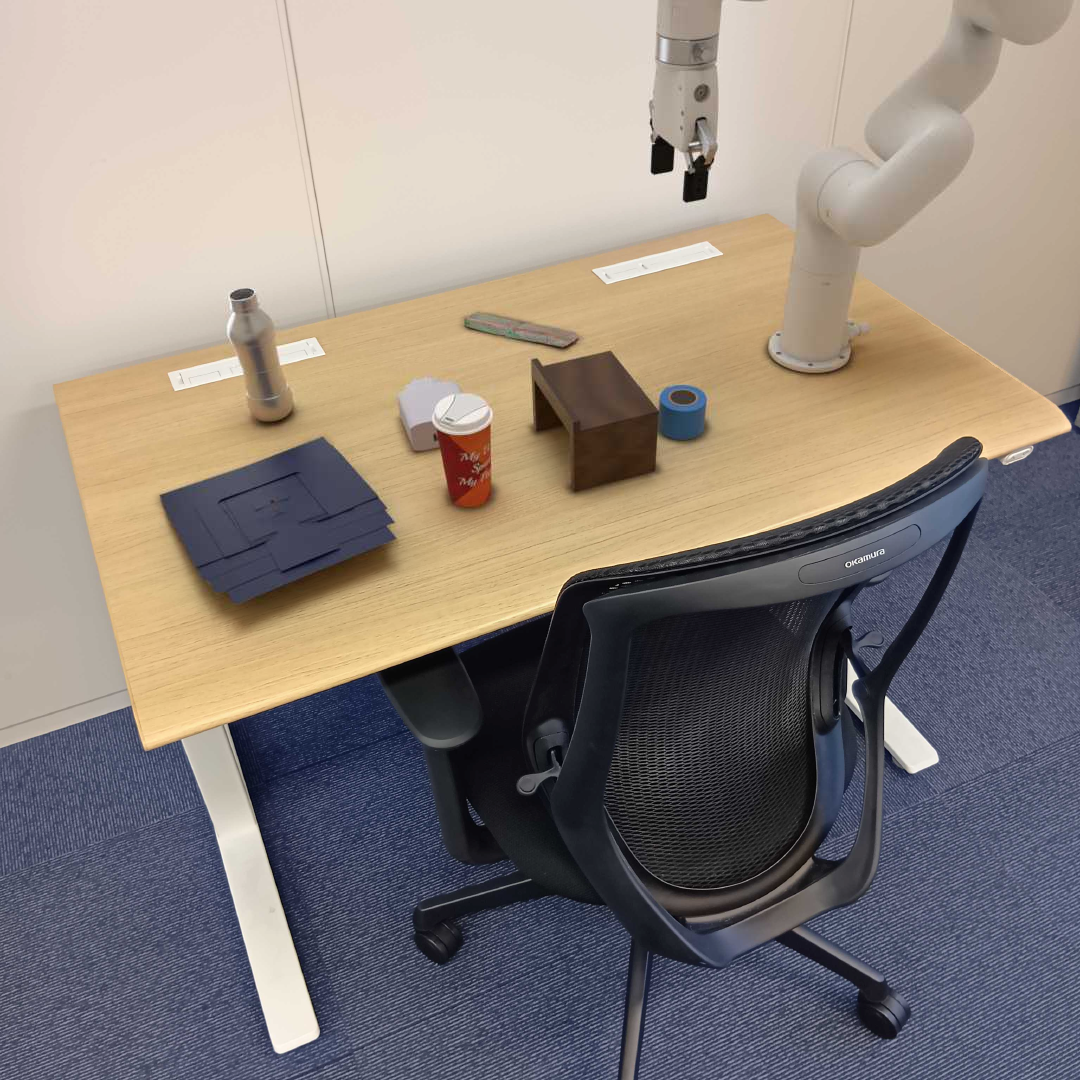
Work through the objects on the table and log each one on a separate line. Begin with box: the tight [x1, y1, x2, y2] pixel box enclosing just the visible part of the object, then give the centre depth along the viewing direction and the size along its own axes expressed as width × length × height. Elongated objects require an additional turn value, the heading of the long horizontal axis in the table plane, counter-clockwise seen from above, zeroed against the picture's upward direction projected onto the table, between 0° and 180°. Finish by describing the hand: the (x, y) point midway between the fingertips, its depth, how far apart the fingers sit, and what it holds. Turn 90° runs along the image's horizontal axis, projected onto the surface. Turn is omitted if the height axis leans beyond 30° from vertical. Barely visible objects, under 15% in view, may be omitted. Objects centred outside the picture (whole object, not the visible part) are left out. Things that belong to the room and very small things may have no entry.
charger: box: [397, 374, 464, 452], centre depth 144 cm, size 5×9×15 cm
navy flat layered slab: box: [159, 436, 398, 606], centre depth 127 cm, size 24×30×4 cm
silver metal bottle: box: [226, 287, 294, 423], centre depth 141 cm, size 6×7×20 cm
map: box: [463, 311, 580, 348], centre depth 162 cm, size 5×20×1 cm, turn 64°
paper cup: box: [432, 393, 494, 508], centre depth 127 cm, size 8×8×14 cm
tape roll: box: [658, 384, 708, 441], centre depth 140 cm, size 7×7×5 cm
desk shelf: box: [530, 350, 659, 493], centre depth 135 cm, size 12×16×12 cm
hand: (677, 186), depth 131 cm, fingers open, 9 cm apart
